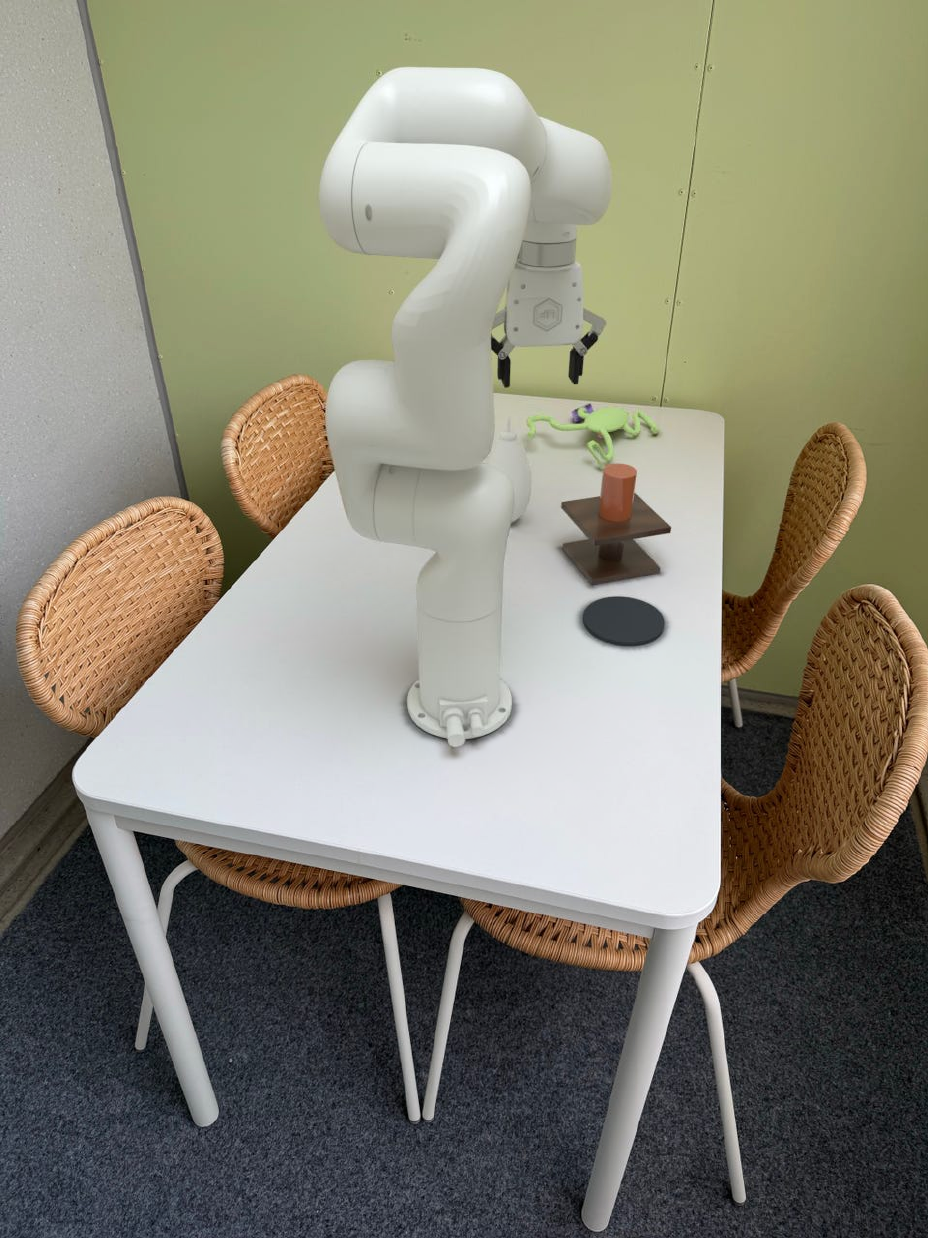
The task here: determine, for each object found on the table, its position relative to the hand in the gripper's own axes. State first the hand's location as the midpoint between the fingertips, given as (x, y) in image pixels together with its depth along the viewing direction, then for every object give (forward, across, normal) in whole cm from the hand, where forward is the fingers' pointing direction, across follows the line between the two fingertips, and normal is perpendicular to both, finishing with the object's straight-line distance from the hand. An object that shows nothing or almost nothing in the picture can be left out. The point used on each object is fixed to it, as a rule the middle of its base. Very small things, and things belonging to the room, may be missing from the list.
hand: (539, 382), depth 121 cm
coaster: (+26, +8, -22) cm, 35 cm away
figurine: (+26, +19, +37) cm, 49 cm away
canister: (+18, +11, -6) cm, 22 cm away
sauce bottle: (+26, -3, +8) cm, 27 cm away
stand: (+26, +11, -7) cm, 29 cm away
